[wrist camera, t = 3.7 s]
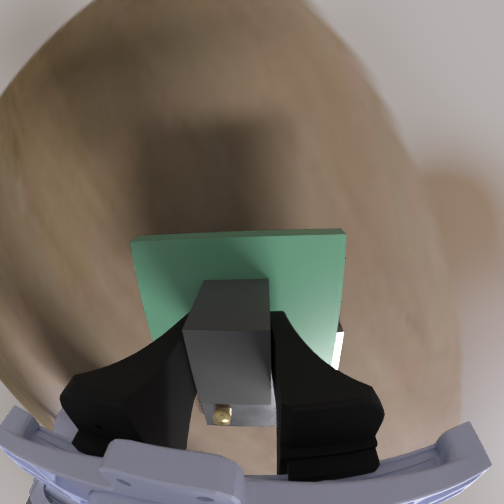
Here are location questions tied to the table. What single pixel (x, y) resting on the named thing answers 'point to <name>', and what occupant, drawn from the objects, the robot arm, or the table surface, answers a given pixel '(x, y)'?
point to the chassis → (255, 413)
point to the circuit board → (245, 257)
